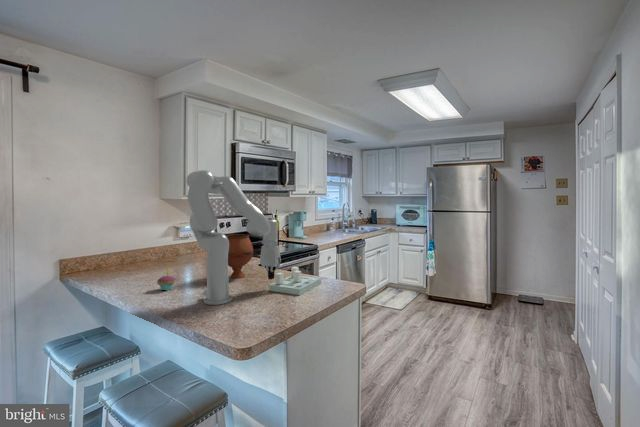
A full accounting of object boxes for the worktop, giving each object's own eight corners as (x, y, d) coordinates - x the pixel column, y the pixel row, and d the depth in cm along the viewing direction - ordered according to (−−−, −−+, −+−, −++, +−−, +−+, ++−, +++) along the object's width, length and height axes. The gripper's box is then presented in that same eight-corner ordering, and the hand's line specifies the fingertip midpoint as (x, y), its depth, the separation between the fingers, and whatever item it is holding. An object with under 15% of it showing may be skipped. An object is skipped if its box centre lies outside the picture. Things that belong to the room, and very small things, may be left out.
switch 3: (293, 281, 170) (293, 271, 170) (296, 280, 173) (296, 270, 173) (298, 282, 169) (298, 272, 169) (301, 280, 172) (301, 271, 171)
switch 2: (291, 276, 180) (291, 267, 180) (294, 275, 183) (294, 266, 182) (296, 277, 179) (295, 268, 178) (298, 276, 181) (298, 267, 181)
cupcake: (165, 287, 176) (164, 264, 175) (179, 287, 174) (178, 265, 173) (153, 291, 167) (152, 268, 167) (168, 292, 165) (167, 269, 165)
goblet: (235, 283, 182) (233, 238, 180) (214, 278, 193) (212, 236, 192) (260, 275, 197) (259, 234, 195) (240, 271, 208) (239, 232, 207)
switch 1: (275, 283, 167) (275, 273, 166) (279, 282, 169) (278, 272, 169) (280, 284, 165) (280, 274, 165) (283, 282, 168) (283, 273, 168)
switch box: (269, 290, 166) (269, 284, 166) (292, 280, 186) (292, 274, 185) (299, 295, 158) (299, 288, 158) (320, 283, 177) (320, 278, 177)
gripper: (254, 243, 169) (255, 279, 170) (278, 245, 162) (279, 282, 163) (263, 241, 175) (263, 275, 176) (286, 243, 168) (287, 278, 170)
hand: (271, 278), depth 170 cm, fingers closed
